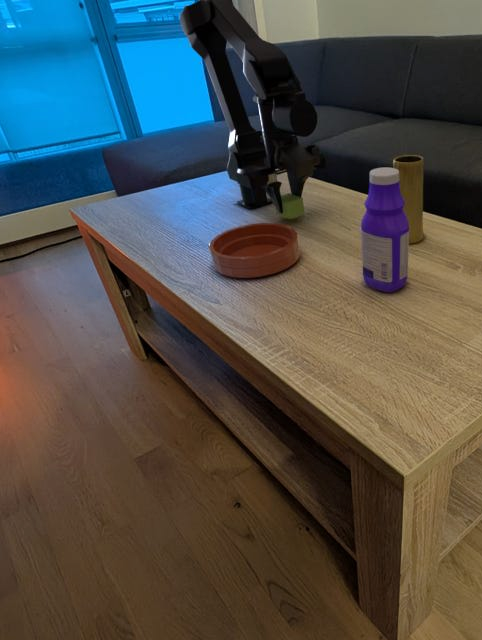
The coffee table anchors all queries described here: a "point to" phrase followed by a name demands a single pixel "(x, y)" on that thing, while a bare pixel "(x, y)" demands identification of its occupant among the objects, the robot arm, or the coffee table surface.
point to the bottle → (385, 233)
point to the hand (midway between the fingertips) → (289, 210)
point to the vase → (412, 192)
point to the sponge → (291, 206)
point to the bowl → (255, 250)
